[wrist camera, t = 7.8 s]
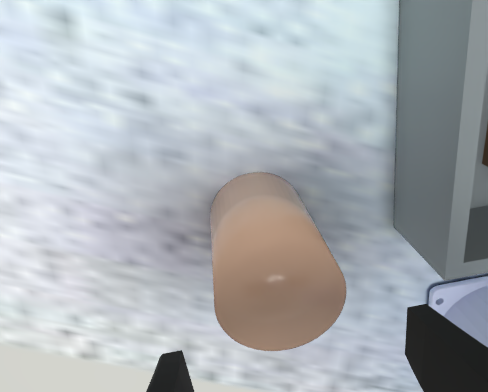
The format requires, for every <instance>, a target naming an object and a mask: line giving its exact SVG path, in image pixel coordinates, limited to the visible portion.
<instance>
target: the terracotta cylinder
mask: <svg viewBox="0 0 488 392" xmlns="http://www.w3.org/2000/svg"><path fill="white" fill-rule="evenodd" d="M210 225H211V245H212V265H213V285H214V306H215V313H216V317H217V320H218V322H219V324H220V326H221V327H222V329H223V330H224V331H225V332H226V333H227V334H228V335H229V336H230V337H231V338H232V339H234V340H235V341H236V342H238V343H240V344H242V345H244V346H247V347H250V348H253V349H257V350H264V351H280V350H287V349H292V348H296V347H299V346H301V345H304V344H306V343H308V342H311V341H312V340H314V339H316V338H318V337H319V336H320V335H322V334H323V333H324V332H325V331H327V330H328V329H329V328H330V327H331V326H332V325H333V323H334V322H335V321H336V319H337V318H338V317H339V315H340V313H341V311H342V309H343V306H344V303H345V299H346V283H345V279H344V276H343V274H342V272H341V270H340V268H339V266H338V264H337V263H336V261H335V259H334V257H333V256H332V254H331V252H330V250H329V248H328V247H327V245H326V243H325V241H324V240H323V238H322V236H321V234H320V233H319V231H318V229H317V227H316V225H315V224H314V222H313V220H312V218H311V217H310V215H309V213H308V211H307V210H306V208H305V206H304V204H303V202H302V201H301V199H300V197H299V195H298V194H297V192H296V190H295V189H294V188H293V187H292V185H291V184H290V183H288V182H287V181H286V180H284V179H283V178H281V177H279V176H276V175H274V174H270V173H264V172H254V173H248V174H244V175H241V176H238V177H236V178H234V179H233V180H231V181H230V182H228V183H227V184H226V185H225V186H223V187H222V188H221V190H220V191H219V192H218V193H217V195H216V197H215V199H214V201H213V203H212V206H211V211H210Z"/></svg>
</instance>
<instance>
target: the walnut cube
mask: <svg viewBox="0 0 488 392" xmlns="http://www.w3.org/2000/svg"><path fill="white" fill-rule="evenodd" d="M482 164H483V165H485V166H487V167H488V124H487V131H486V138H485V145H484V152H483V159H482Z"/></svg>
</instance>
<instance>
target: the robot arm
mask: <svg viewBox="0 0 488 392" xmlns="http://www.w3.org/2000/svg"><path fill="white" fill-rule="evenodd" d="M405 355H406V357H407V359H408V361H409V363H410V366H411V368H412V370H413V372H414V374H415V376H416V378H417V380H418V382H419V384H420V386H421V388H422V389H423V391H424V392H488V276H485V277H480V278H475V279H469V280H464V281H459V282H453V283H448V284H443V285H438V286H435V287H433V288H432V289H431V290H430V293H429V304H428V305H427V304H424V305H418V306H413V307H408V308H407V327H406V346H405ZM146 392H194V389H193V386H192V382H191V379H190V376H189V372H188V369H187V366H186V362H185V359H184V355H183V352H182V350H181V351H176V352H171V353H165V354H162V355H161V357H160V358H159V361H158V364H157V367H156V369H155V372H154V374H153V377H152V379H151V382H150V384H149V386H148V389H147V391H146Z"/></svg>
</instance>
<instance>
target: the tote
mask: <svg viewBox="0 0 488 392" xmlns="http://www.w3.org/2000/svg"><path fill="white" fill-rule="evenodd" d="M487 124H488V0H400V10H399V48H398V87H397V125H396V163H395V201H394V228H395V229H396V230H397V231H398V232H399V233H400V234H401V235H402V236H403V237H404V238H405V239H406V240H407V241H408V242H409V243H410V244H411V246H412V247H413V248H414V249H415V250H416V251H417V252H418V253H419V254H420V255H421V256H422V257H423V258H424V259H425V260H426V261H427V263H428V264H429V265H430V266H431V267H432V268H433V269H434V270H435V271H436V272H437V273H438V274H439V275H440V276H441V277H442V278H443V279H444V281H445V280H450V279H456V278H461V277H466V276H471V275H477V274H482V273H487V272H488V167H487V166H485V165H483V164H482V159H483V152H484V145H485V138H486V131H487Z"/></svg>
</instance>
